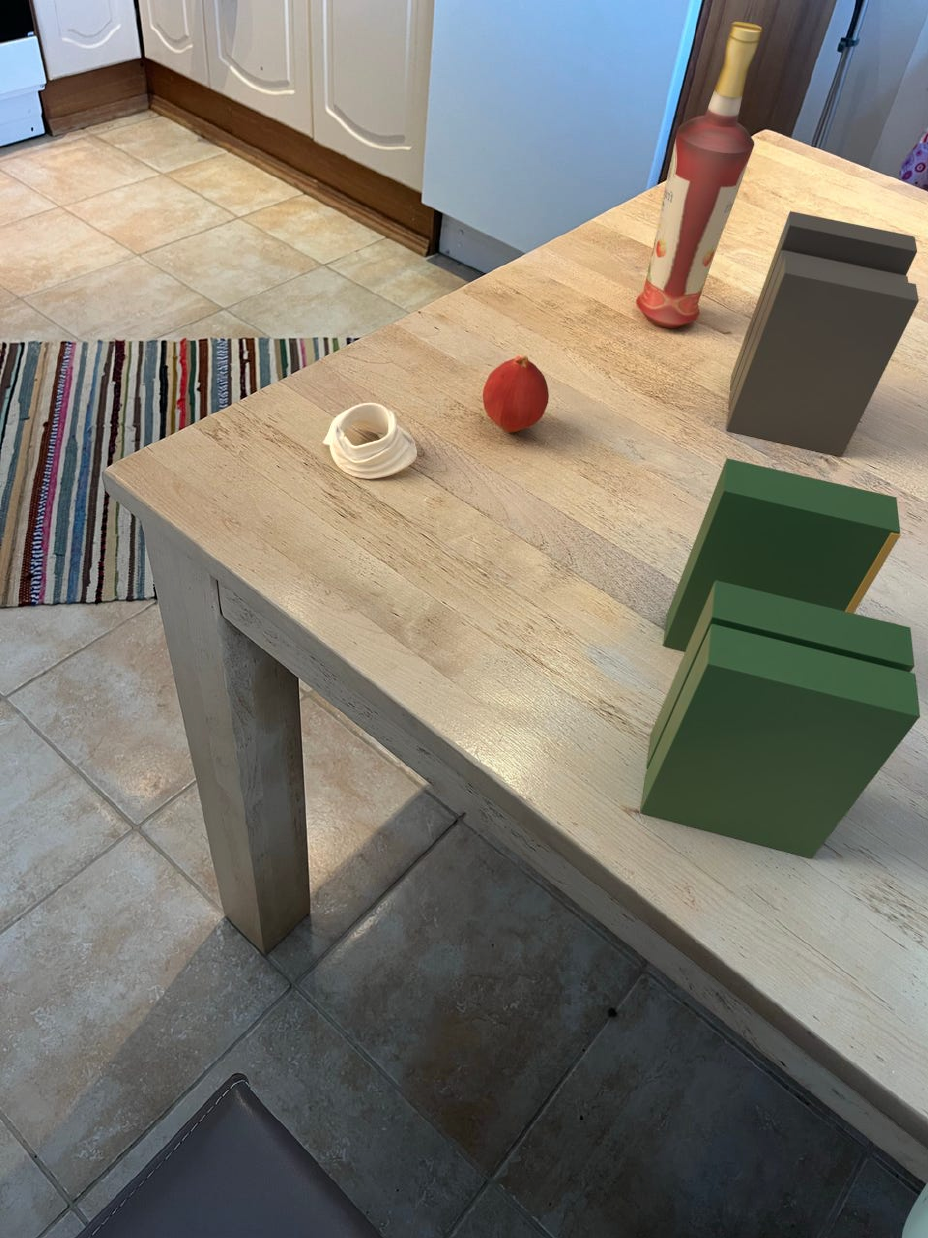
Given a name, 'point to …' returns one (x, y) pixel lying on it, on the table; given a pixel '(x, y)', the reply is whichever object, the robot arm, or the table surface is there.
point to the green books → (778, 718)
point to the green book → (784, 543)
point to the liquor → (700, 191)
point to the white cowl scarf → (374, 456)
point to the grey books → (821, 333)
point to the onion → (515, 394)
